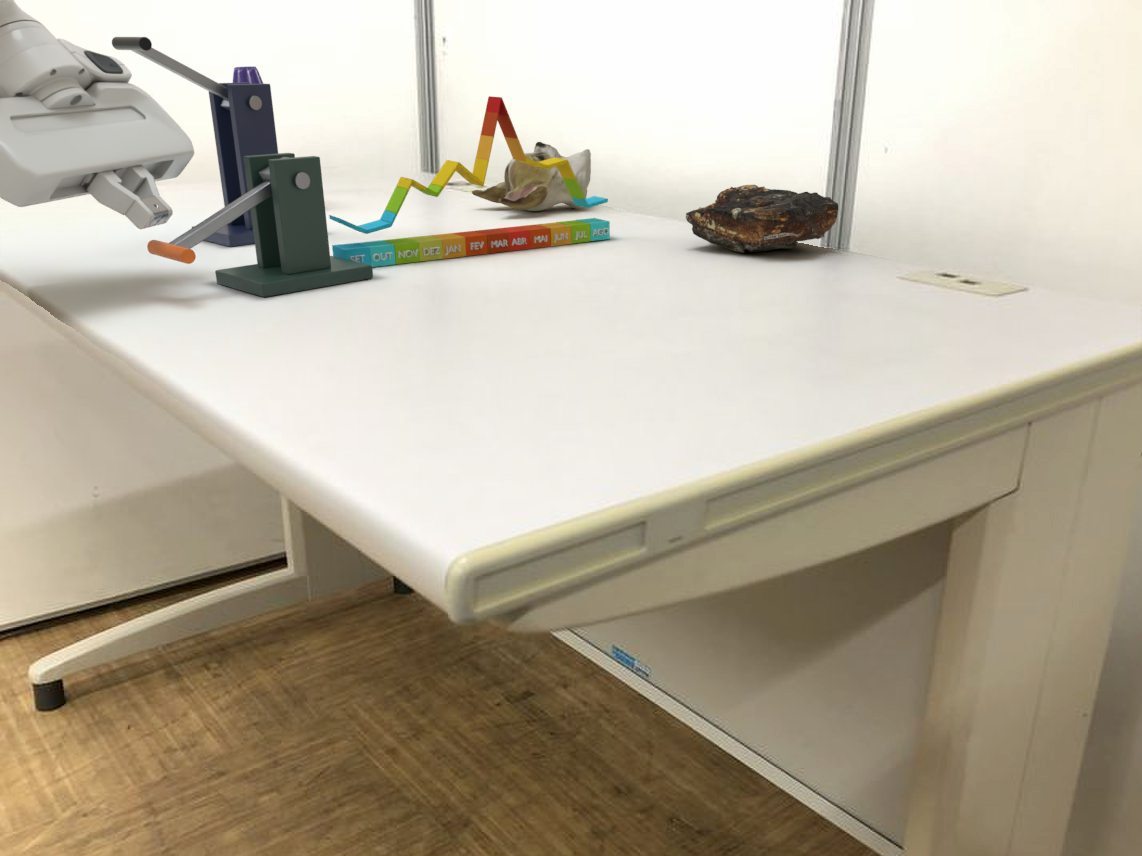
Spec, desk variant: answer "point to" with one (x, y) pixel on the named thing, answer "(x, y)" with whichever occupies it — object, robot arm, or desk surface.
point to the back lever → (171, 65)
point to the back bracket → (241, 148)
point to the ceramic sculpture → (538, 181)
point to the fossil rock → (763, 218)
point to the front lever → (212, 223)
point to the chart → (480, 239)
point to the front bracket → (290, 232)
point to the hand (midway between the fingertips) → (158, 221)
